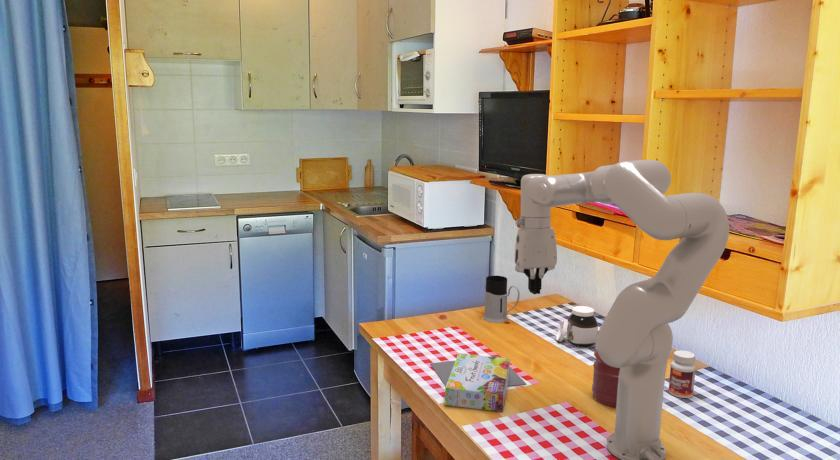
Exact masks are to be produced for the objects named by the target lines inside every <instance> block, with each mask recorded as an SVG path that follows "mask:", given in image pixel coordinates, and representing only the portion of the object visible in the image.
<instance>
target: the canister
mask: <svg viewBox="0 0 840 460" xmlns="http://www.w3.org/2000/svg"><path fill="white" fill-rule="evenodd" d="M593 356H594V357H595V361H594V363H593V376H592V377H593V378H592V384H591V385H592V386H591V392H592V397H593V399H595V401H597V402H598V403H600V404H603V405H604V406H608V407H612V408H616V404H617V390H618V378H619V370H620V368H616V367H612V366H609V365H607V364H606V363H605V362H604V361H603V360H602V359H601V358H600V356H599V354H598V351H597V348H596V350H594V352H593Z"/></svg>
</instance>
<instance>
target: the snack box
mask: <svg viewBox="0 0 840 460" xmlns="http://www.w3.org/2000/svg"><path fill="white" fill-rule="evenodd" d="M456 355H457V356H456V358H455V360H454V361H455V363H454V366H453V369H452V371H451V374H450V377H449V379H448V382H447V385H446V386H445V387H444V404H445V406H452V407H460V408H469V409H475V410H484V411H485V410H486V411H493V412H500V413H503V411H504V407H505V401H506V396H507V390H508V387H507V385H508V380H509V373H510V367H511V364H510V363H511V358H507V357H501V358H498V357H496V356H487V355H477V354H476V355H475V354H468V353H460V352H459V353H457V354H456Z"/></svg>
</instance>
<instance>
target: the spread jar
mask: <svg viewBox="0 0 840 460" xmlns="http://www.w3.org/2000/svg"><path fill="white" fill-rule="evenodd" d="M598 326H599V325H598V321H597V319H596V317H595V309H594V308H592V307H590V306H586V305H585V306H584V305H577V306H573V307H572V309H571V314H570V315H569V316H568V317H567V321H565V320H563V321H562V322H561V323H560V325H559V327H558V331H557V333H556V336H555V337H556V338H555V340H556V341H558V342H560V343H561V342H563V340H564V338H565V337H566V336H567V340H568V342H569V344H570V345H572V346H573V347H578V348H590V347H592V346H594V345H596V340H597V335H598V332H599V329H598V328H599V327H598Z"/></svg>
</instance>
